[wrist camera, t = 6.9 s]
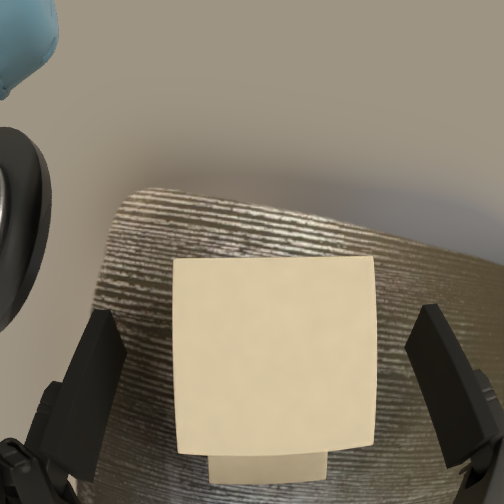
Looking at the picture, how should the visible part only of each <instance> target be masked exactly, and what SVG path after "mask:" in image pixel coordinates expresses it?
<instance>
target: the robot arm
mask: <svg viewBox="0 0 504 504" xmlns="http://www.w3.org/2000/svg"><path fill="white" fill-rule="evenodd" d="M58 37H59V28H58V19H57V13H56V9H55V4H54V0H0V100H4V99H5V98H6V97H7V96H8V95H9V93H10V91H11V90H12V89H13V88H14V87H16V86H17V85H18V84H19V83H21V82H22V81H23V80H24V79H26V78H27V77H28V76H30V75H31V74H32V73H34V72H35V71H36V70H38V69H39V68H41V67H42V66H43V65H44V64H45V63H46V62H47V61H48V60H49V59H50V58H51V56H52V55H53V53H54V51H55V49H56V46H57V42H58ZM10 213H11V188H10V182H9V178H8V175H7V173H6V171H5V169H4V167H3V166H2V165H1V164H0V255H1V253H2V250H3V247H4V243H5V240H6V236H7V232H8V227H9V221H10ZM404 348H405V350H406V352H407V355H408V357H409V360H410V362H411V365H412V367H413V370H414V373H415V375H416V378H417V380H418V383H419V386H420V388H421V391H422V394H423V396H424V399H425V402H426V405H427V408H428V410H429V413H430V416H431V419H432V422H433V425H434V428H435V431H436V434H437V437H438V440H439V444H440V447H441V450H442V453H443V457H444V460H445V463H446V467H447V469H448V468H451V467H454V466H457V465H460V464H462V463H463V462H465V461H466V460H467V459H469V458H470V459H471V463H469V464H468V465H467V466H465V467H464V468H463V469H461V471H460V472H459V474H460V475H461V474H462V473H464V472H465V471H466V470H467V471H466V473H465V474H464V478H463V481H462V484H461V486H460V488H459V491H458V493H457V495H456V498H455V500H454V502H453V504H504V412H503V409H502V407H501V405H500V403H499V401H498V398H496V394H495V392H494V390H492V386H491V383H490V381H489V379H488V377H487V376H486V375H485V374H484V373H483V372H482V371H481V370H480V369H478V370H474V371H473V370H472V368H471V366H470V364H469V362H468V360H467V358H466V356H465V354H464V352H463V350H462V348H461V346H460V344H459V342H458V340H457V339H456V337H455V335H454V333H453V331H452V329H451V328H450V326H449V324H448V322H447V320H446V319H445V317H444V315H443V313H442V312H441V310H440V308H439V307H438V305H437V304H428V305H423V306H422V308H421V311H420V313H419V315H418V318H417V320H416V322H415V325H414V327H413V329H412V332H411V334H410V336H409V338H408V340H407V342H406V345H405V347H404ZM126 355H127V351H126V349H125V347H124V344H123V342H122V339H121V337H120V334H119V332H118V329H117V327H116V324H115V322H114V319H113V316H112V314H111V311H110V310H98V309H94V311H93V313H92V315H91V317H90V320H89V322H88V324H87V326H86V328H85V330H84V333H83V335H82V337H81V340H80V342H79V344H78V346H77V348H76V351H75V353H74V355H73V358H72V360H71V362H70V365H69V367H68V370H67V372H66V375H65V377H64V379H63V382H62V383H61V382H56V381H52V382H51V383H50V385H49V386H48V387H47V388H46V389H45V390H44V393H43V395H42V398H41V401H40V404H39V406H38V408H37V413H35V416H34V419H33V421H32V424H31V427H30V430H29V433H28V435H27V439H26V441H25V444H24V445H23V444H22V443H20V442H19V441H18V440H17V439H14V438H7V439H4V440H3V441H1V442H0V504H81V503H80V501H79V499H78V498H77V496H76V494H75V492H74V490H73V488H72V486H71V484H70V482H69V481H68V480H67V478H68V474H70V475H71V476H73V477H74V478H76V479H79V480H83V481H87V482H90V483H93V480H94V475H95V471H96V466H97V462H98V457H99V453H100V449H101V445H102V440H103V436H104V432H105V428H106V425H107V421H108V417H109V413H110V409H111V406H112V402H113V399H114V395H115V392H116V388H117V385H118V381H119V378H120V374H121V371H122V368H123V364H124V361H125V358H126Z"/></svg>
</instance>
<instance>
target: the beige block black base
mask: <svg viewBox="0 0 504 504" xmlns="http://www.w3.org/2000/svg"><path fill="white" fill-rule="evenodd" d="M172 345H173V383H174V405H175V423H176V437H177V450H178V453H179V454H191V455H208V471H209V482H210V483H211V484H280V483H295V482H307V481H317V480H325V479H326V472H327V456H328V451H336V450H343V449H350V448H357V447H363V446H369V445H373V440H374V426H375V410H376V385H377V319H376V294H375V276H374V262H373V256H332V257H260V258H175V259H173V289H172Z"/></svg>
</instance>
